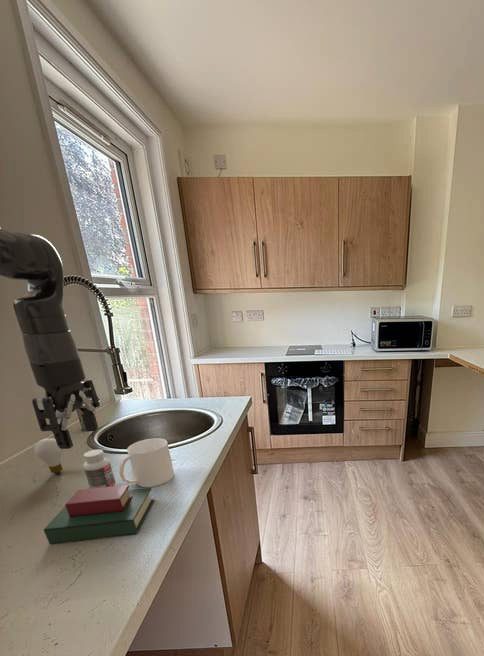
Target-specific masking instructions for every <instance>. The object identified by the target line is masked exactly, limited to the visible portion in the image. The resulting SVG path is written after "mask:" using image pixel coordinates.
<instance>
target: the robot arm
mask: <svg viewBox="0 0 484 656" xmlns="http://www.w3.org/2000/svg"><path fill="white" fill-rule="evenodd" d="M0 277H2V278H4V279H8V280H12V281H13V280H14V281H26V293H25V294H23V295H21V296H18V297H15V298H14V299H13V300H12V303H11V307H12V311H13V313H14V317H15V320H16V322H17V325H18V328H19V331H20V333H21V337H22V344H23V349H24V351H25V355H26V357H27V360H28V363H29V366H30V369H31V371H32V375H33V377H34V380H35V383H36V385H37V386H38V387H40V388H43V390H44V393H45V396H43V397H37V398H36V397H35V398H32V400H31V403H32V406H33V409H34V413H35V416H36V419H37V423H38V426H39V430H40V431H41V432H52V434H53V438H54V439H55V440H56V442H57V445H58V447H59V448H61V449H63V450H69V449H72V448H73V447H74V444H73V440H72V437H71V434H70V431H69V429H68V423H69V422H68V421H69V420H70V419H71V418H72V413H73V412H75V411H76V410H78V411H79V412H80V413H81V418H82V422H83V425H84V428H85V430H86V432H97V431H98V430H99V425H98V421H97V418H96V414H95V413H96V411H97V410H96V409H97V408H100V405H101V404H100V401H99V398H98V395H97V392H96V388H95V385H94V382H93V380H92V379H86V374H85V371H84V367H83V364H82V360H81V357H80V353H79V350H78V346H77V342H76V341H75V339H74V336H73V334H72V331H71V328H70V325H69V321H68V317H67V315H66V311H65V308H64V300H65V299H64V295H65V293H64V292H65V291H64V290H65V289H64V288H65V287H64V284H65V283H64V266H63V263H62V260H61V257H60V255H59V253H58V251H57V250H56V248H55V247H54V246H53V244H52V243H51V242H50V241H48V240H47V239H46V238H44V237H43V236H40V235H37V234H32V233H31V234H30V233H24V232H19V231H12V230H6V229H3V228H0ZM89 398H91V400H90V399H89ZM47 420H48V421H49V422H48V423H47ZM58 420H59V421H58Z"/></svg>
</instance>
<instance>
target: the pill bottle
mask: <svg viewBox="0 0 484 656" xmlns="http://www.w3.org/2000/svg"><path fill="white" fill-rule="evenodd" d="M83 459H84V463H83V467H82V468H83V470H84V474H85V476H86V480H87V482H88V486H89V489H92V488H102V487H112V486H117V483H116V479H115V475H114V471H113V469H112V465H111V461H110V459H109V458H108V457H106V456H105V452H104V450H103V449H92V450H89V451H87V452H85V453H84V454H83Z"/></svg>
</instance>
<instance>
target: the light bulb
mask: <svg viewBox="0 0 484 656" xmlns="http://www.w3.org/2000/svg"><path fill="white" fill-rule="evenodd" d="M63 453H64V449H61V448H59V447H58V445H57V442H56V440H55V438H51V437H50V438H47V437H46V438H43V439H41V440H39V441H38V442H37V443H36V444H35V446H34V454H35V456H36V457H37V458H38V459H40V460H41V461H43V462H44V463H45V464H46V466H47V467H48V469H49V471H50V473H51V474H55V475H58V474H60V473H61V472H62V471H63V470H64V469H63V465H62V455H63Z"/></svg>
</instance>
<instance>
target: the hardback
mask: <svg viewBox="0 0 484 656" xmlns="http://www.w3.org/2000/svg"><path fill="white" fill-rule="evenodd" d="M152 489H153V487H141V488H133V489H128V490H129V494H130V495H132V498H131V500H130V501H129V503H128V504H127V506H126V508H125V509H124V511H123V512H113V513H104V514H95V515H85V516H76V517H69V514H68V511H67V509H66V506H65V505H64V507H63V508H62V509H61V510H60V511H59V512H58V513H57V514H56V515H55V516H54V518H52V520H51V521H50V522H49V523H48V524H47V525H46V526H45V527H44V528H43V532H44V534H45V537H46V539H47V542H48V545H55V544H56V545H57V544H63V543H72V542H81V541H82V542H83V541H90V540H91V541H92V540H98V539H107V538H115V537H116V538H117V537H124V536H133V535H138V533H139V531H140V529H141V528H142V525H143V524H144V522H145V520H146V518H147V517H148V514H149V512H150V510H151V509H152V506H153V504H154V502H155V498H152V497H151V494H150V493H151V491H152Z"/></svg>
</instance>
